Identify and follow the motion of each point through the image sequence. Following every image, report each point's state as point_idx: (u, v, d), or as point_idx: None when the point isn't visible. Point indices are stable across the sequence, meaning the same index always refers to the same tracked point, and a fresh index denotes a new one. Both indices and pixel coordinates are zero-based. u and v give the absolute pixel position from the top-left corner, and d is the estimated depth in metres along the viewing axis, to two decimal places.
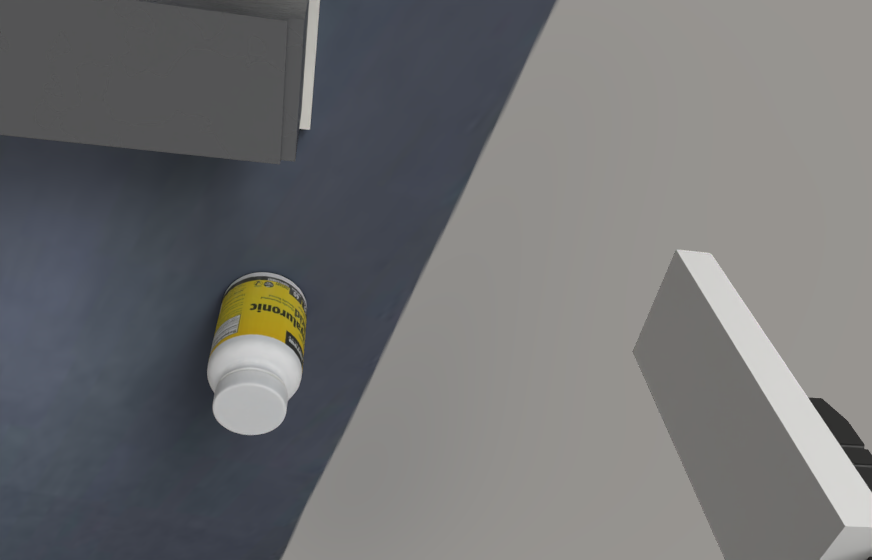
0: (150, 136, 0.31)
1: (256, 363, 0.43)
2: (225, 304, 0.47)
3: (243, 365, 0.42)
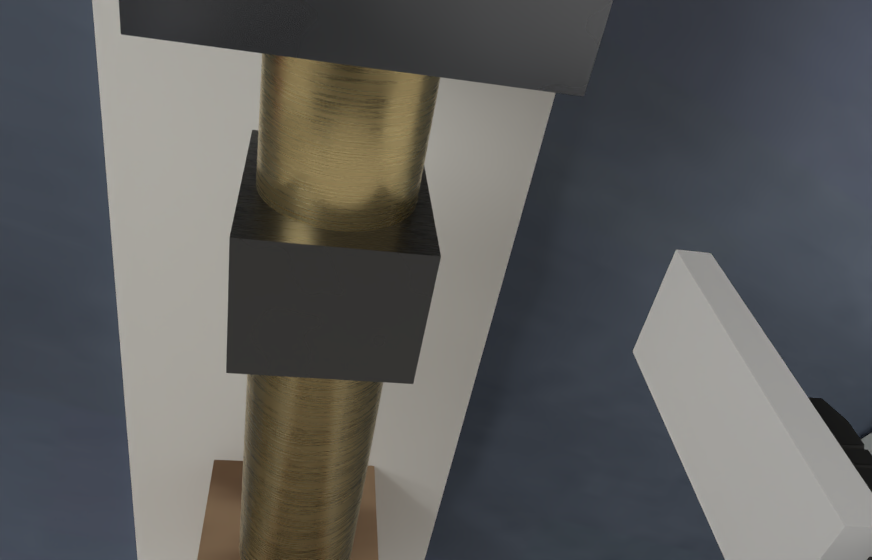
0: None
1: None
2: None
3: None
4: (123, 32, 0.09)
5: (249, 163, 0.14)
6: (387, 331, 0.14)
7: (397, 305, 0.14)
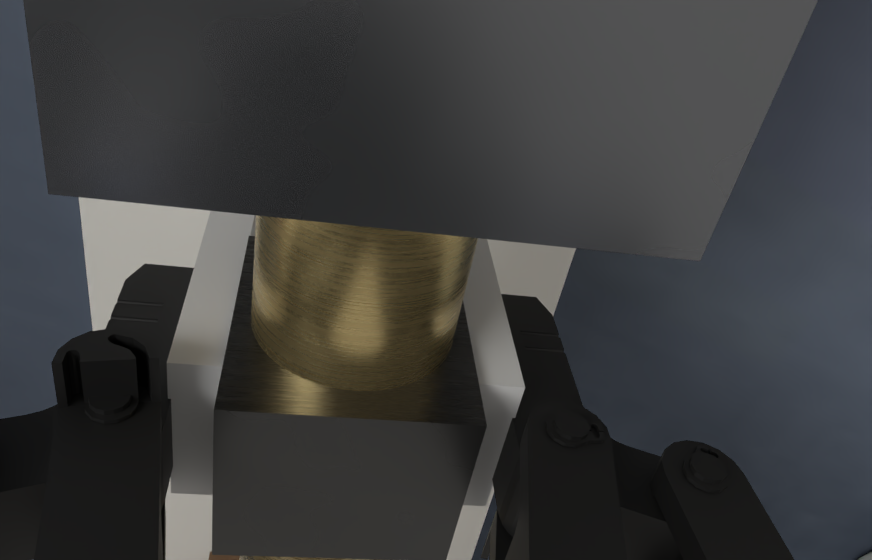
0: None
1: None
2: None
3: None
4: (53, 192, 0.07)
5: (243, 287, 0.12)
6: (415, 507, 0.11)
7: (429, 479, 0.11)
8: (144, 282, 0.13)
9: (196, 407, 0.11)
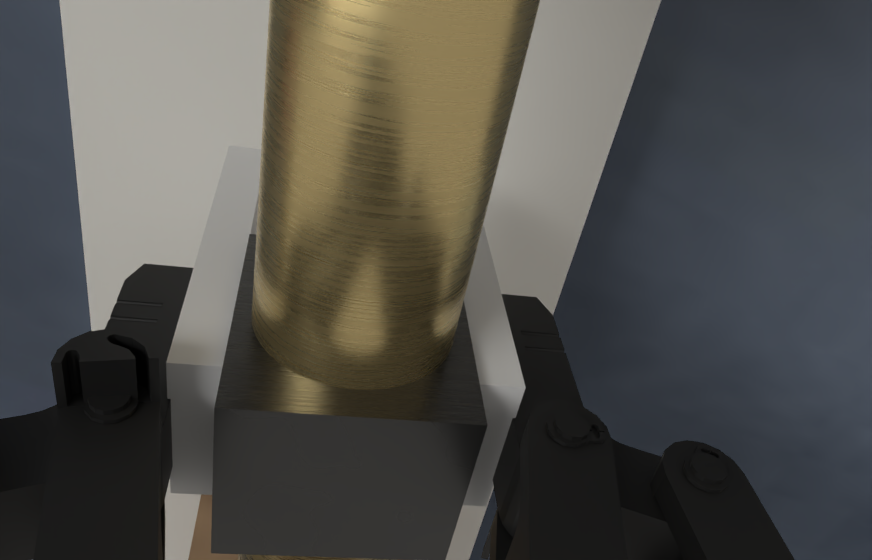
0: None
1: None
2: None
3: None
4: None
5: (244, 285, 0.12)
6: (415, 506, 0.11)
7: (429, 479, 0.11)
8: (143, 282, 0.13)
9: (196, 407, 0.11)
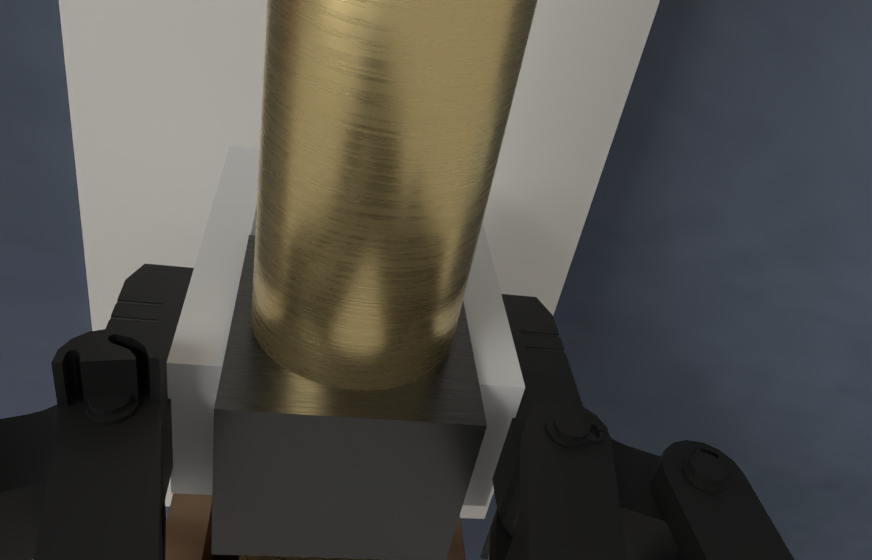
0: None
1: None
2: None
3: None
4: None
5: (243, 286, 0.12)
6: (415, 507, 0.11)
7: (428, 479, 0.11)
8: (144, 282, 0.13)
9: (197, 407, 0.11)
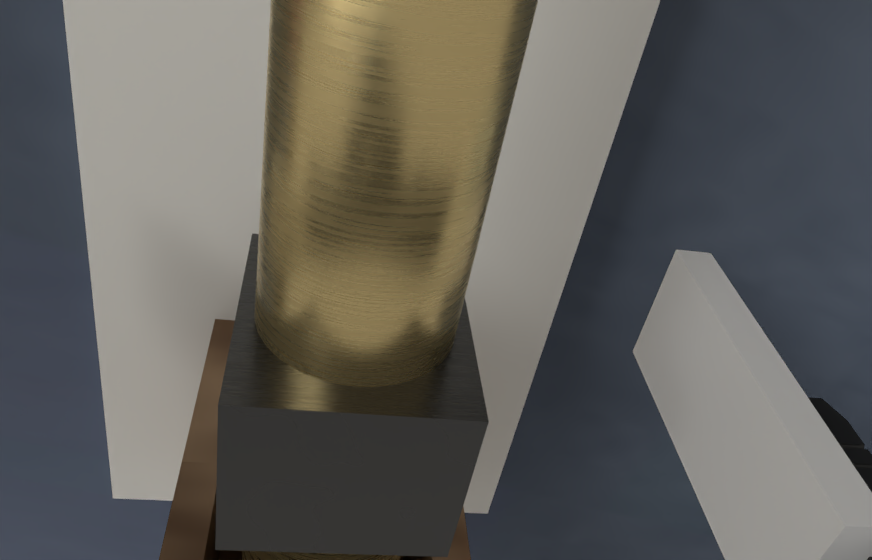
0: None
1: None
2: None
3: None
4: None
5: (247, 284, 0.12)
6: (417, 503, 0.11)
7: (431, 475, 0.11)
8: None
9: None
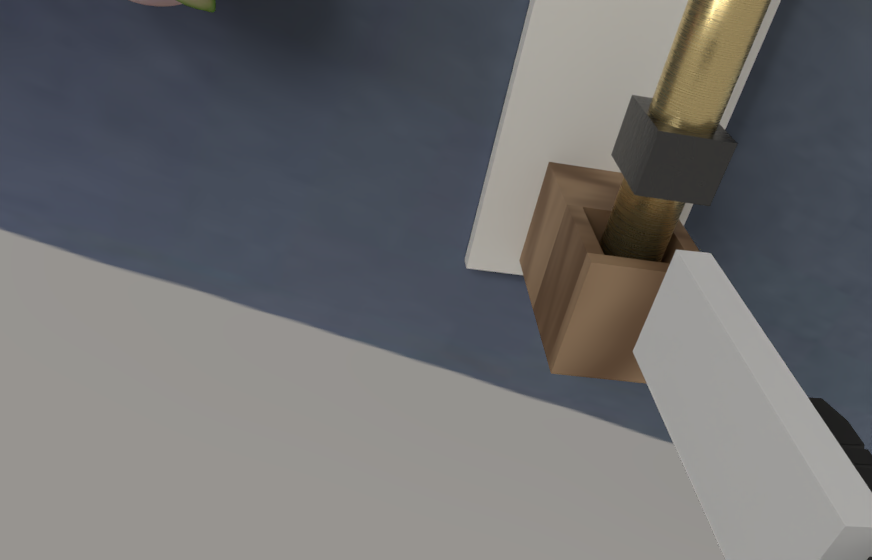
0: None
1: None
2: None
3: None
4: None
5: (642, 107, 0.33)
6: (706, 178, 0.33)
7: (714, 165, 0.32)
8: None
9: None
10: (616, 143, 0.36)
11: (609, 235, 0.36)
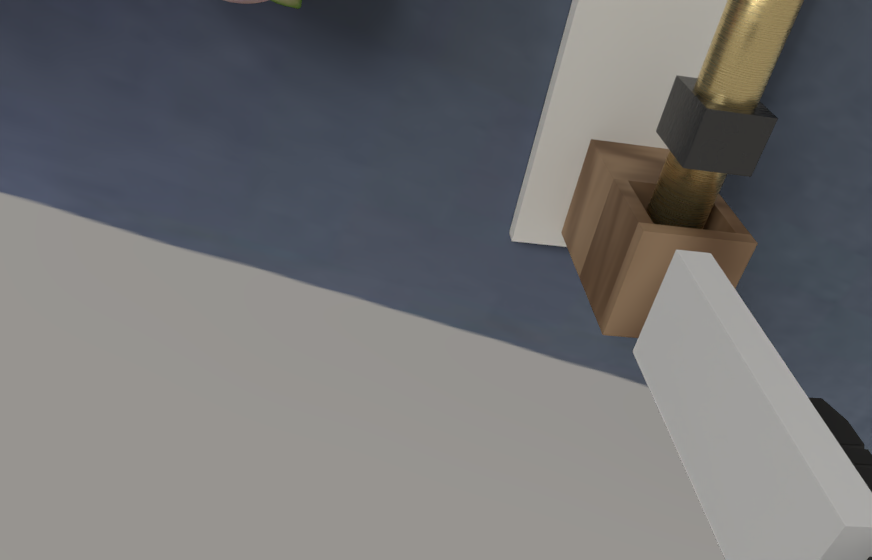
0: None
1: None
2: None
3: None
4: None
5: (688, 86, 0.36)
6: (748, 151, 0.36)
7: (756, 139, 0.35)
8: None
9: None
10: (661, 120, 0.39)
11: (655, 206, 0.39)
